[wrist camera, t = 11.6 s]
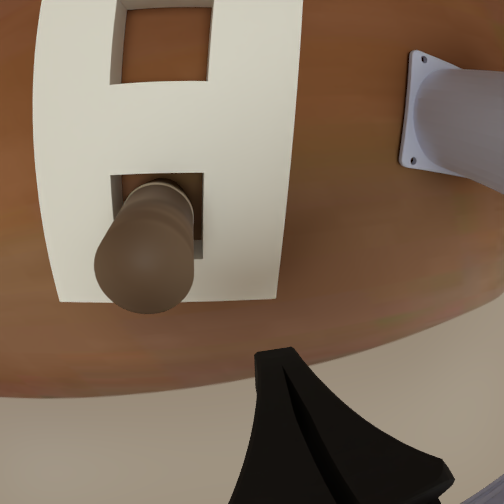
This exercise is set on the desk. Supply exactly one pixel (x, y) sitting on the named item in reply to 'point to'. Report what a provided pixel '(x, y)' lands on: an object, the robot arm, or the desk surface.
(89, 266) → the board
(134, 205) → the peg
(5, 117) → the desk surface
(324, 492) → the robot arm
